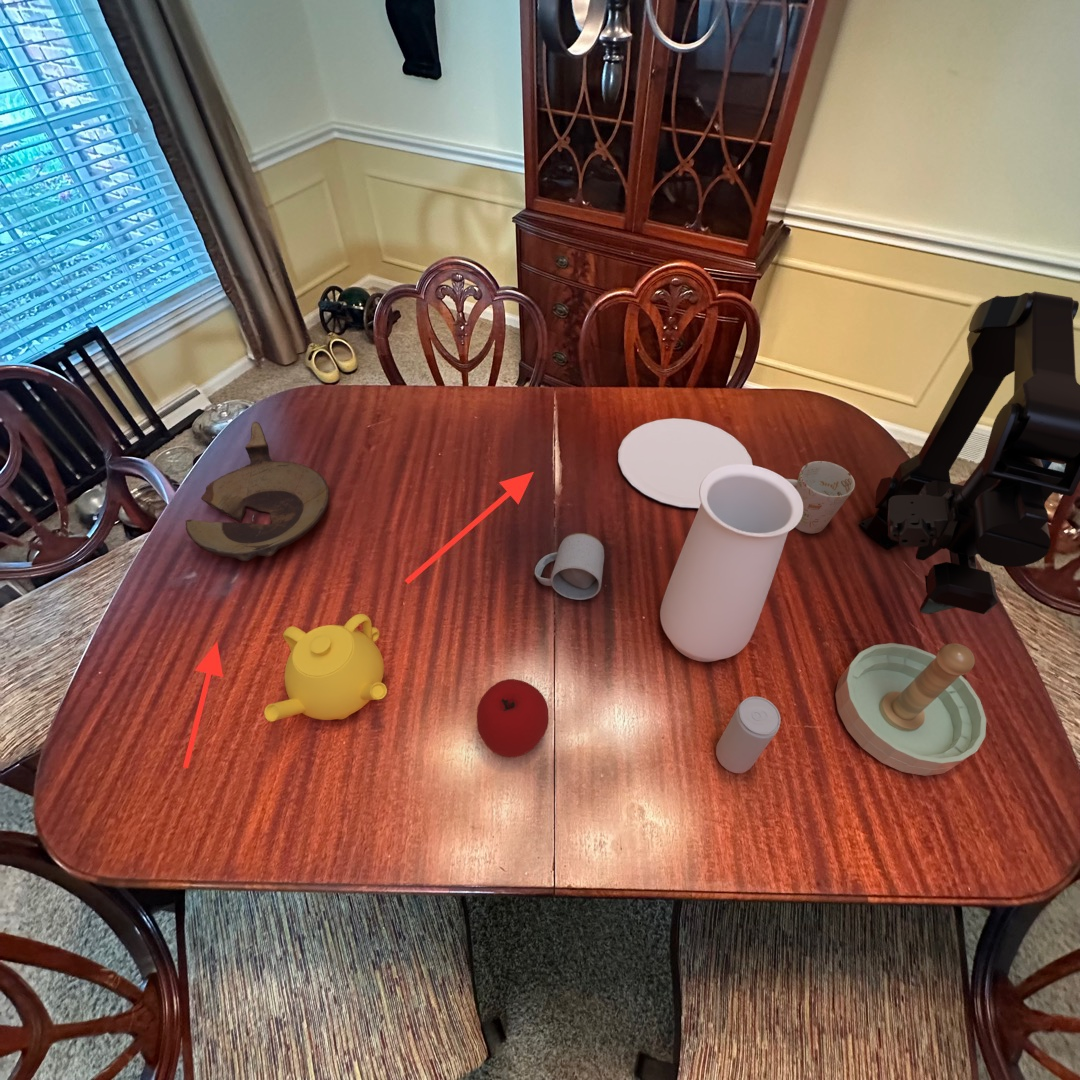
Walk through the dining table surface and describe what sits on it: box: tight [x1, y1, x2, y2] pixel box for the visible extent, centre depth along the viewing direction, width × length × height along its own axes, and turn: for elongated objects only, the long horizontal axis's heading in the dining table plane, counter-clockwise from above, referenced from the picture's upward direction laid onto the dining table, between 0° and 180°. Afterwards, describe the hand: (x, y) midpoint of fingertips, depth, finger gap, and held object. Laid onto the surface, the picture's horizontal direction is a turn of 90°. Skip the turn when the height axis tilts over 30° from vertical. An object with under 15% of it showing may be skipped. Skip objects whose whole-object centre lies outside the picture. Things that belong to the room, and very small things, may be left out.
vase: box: [659, 464, 803, 663], centre depth 78 cm, size 13×13×28 cm
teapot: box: [263, 613, 388, 722], centre depth 78 cm, size 14×14×11 cm
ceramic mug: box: [534, 532, 605, 601], centre depth 92 cm, size 11×8×8 cm
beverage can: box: [715, 695, 782, 774], centre depth 72 cm, size 5×5×12 cm
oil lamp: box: [185, 421, 330, 562], centre depth 102 cm, size 22×30×8 cm
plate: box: [617, 418, 754, 510], centre depth 112 cm, size 25×25×1 cm
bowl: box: [835, 642, 987, 777], centre depth 78 cm, size 16×16×5 cm
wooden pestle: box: [880, 642, 976, 732], centre depth 73 cm, size 5×5×16 cm
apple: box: [476, 678, 550, 758], centre depth 75 cm, size 9×9×10 cm
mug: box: [785, 460, 856, 534], centre depth 100 cm, size 8×13×10 cm, turn 78°
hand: (921, 584), depth 78 cm, fingers open, 9 cm apart
